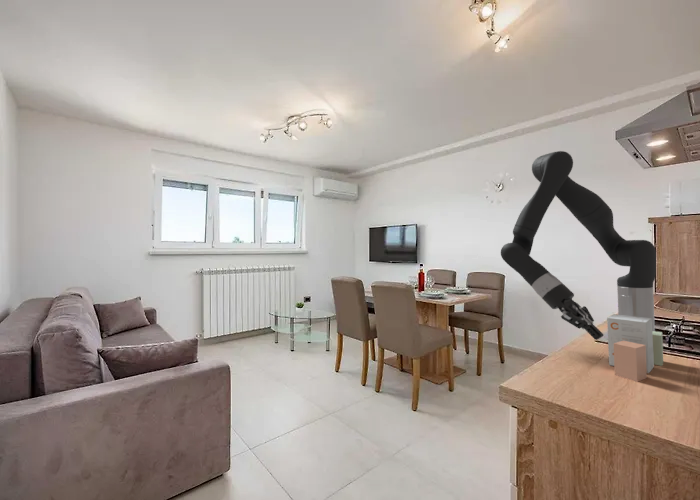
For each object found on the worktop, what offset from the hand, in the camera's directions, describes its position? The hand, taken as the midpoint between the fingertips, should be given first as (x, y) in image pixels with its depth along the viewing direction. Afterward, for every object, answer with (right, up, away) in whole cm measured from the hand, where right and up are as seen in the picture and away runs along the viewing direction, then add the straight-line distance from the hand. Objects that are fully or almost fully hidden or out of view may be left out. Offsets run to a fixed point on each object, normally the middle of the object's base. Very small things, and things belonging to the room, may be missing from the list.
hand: (600, 337), depth 89 cm
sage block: (+12, -6, -3) cm, 13 cm away
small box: (+4, -6, -6) cm, 9 cm away
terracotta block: (-2, -6, -12) cm, 13 cm away
